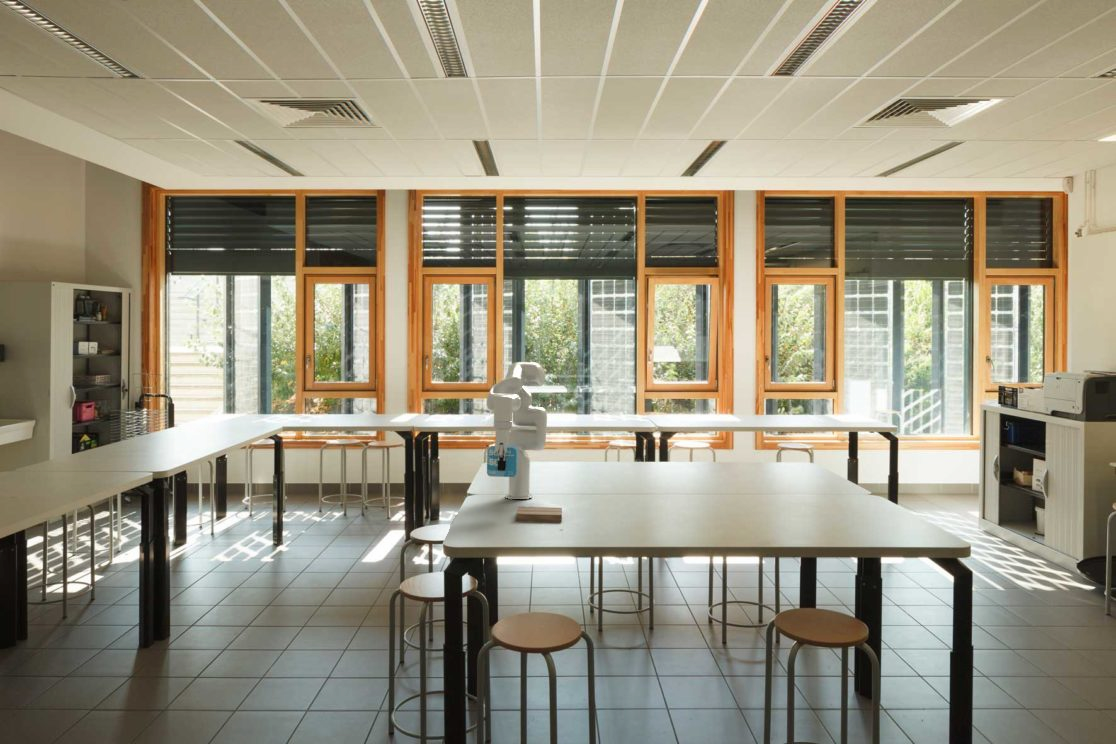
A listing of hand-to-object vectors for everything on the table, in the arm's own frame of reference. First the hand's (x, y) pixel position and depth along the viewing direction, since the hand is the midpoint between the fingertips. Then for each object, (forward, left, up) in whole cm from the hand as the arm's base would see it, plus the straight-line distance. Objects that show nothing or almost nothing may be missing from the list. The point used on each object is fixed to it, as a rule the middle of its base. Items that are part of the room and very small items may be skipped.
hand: (502, 468), depth 313 cm
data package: (0, 0, -3) cm, 3 cm away
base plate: (+4, +16, -19) cm, 25 cm away
